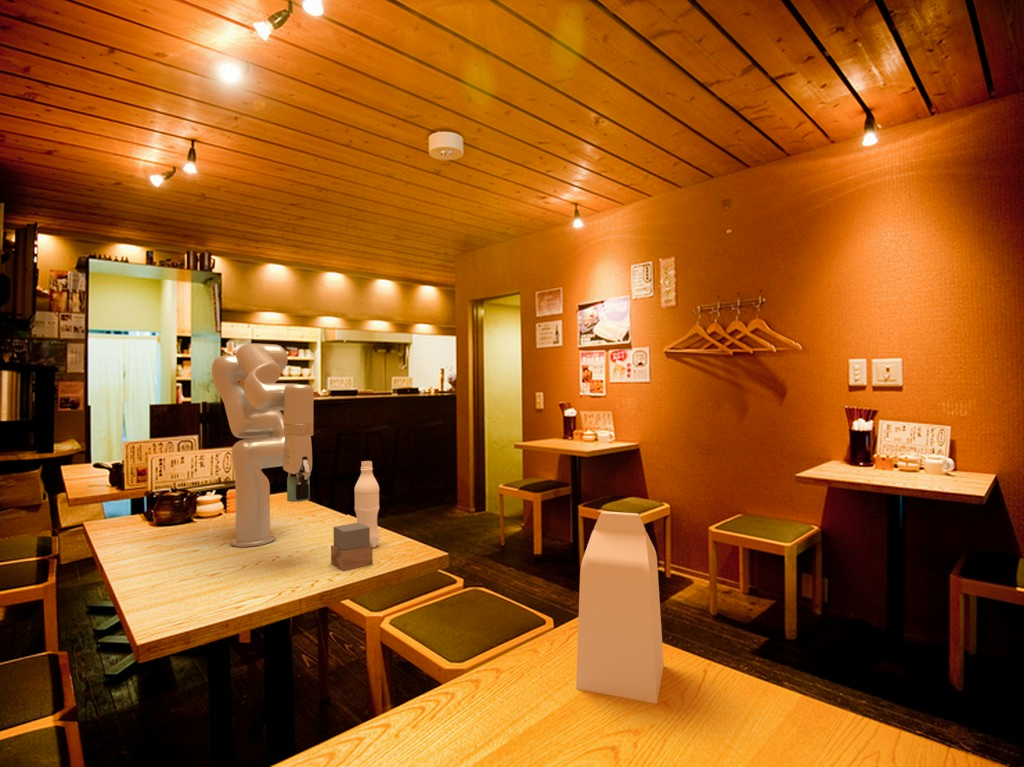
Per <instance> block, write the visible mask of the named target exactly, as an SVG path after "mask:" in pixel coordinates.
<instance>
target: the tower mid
mask: <svg viewBox="0 0 1024 767" xmlns="http://www.w3.org/2000/svg"><path fill="white" fill-rule="evenodd" d="M333 545H334V546H335V547H337V548H339V549H340V550H342V551H349V550H354V549H359V548H364V547H369V546H370V528H369V527H367V526H365V525H363V524H361V523H357V522H353V523H348V524H343V525H341V524H340V525H336V526H333Z"/></svg>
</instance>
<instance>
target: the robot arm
mask: <svg viewBox="0 0 1024 767" xmlns="http://www.w3.org/2000/svg"><path fill="white" fill-rule="evenodd" d="M288 358H289V357H288V354H287V352H286V350H285V348H284V347H282V345H279V344H271V343H269V344H268V343H254V342H253V343H246V344H242V345H241V346H240V347H239V348H238V349H237V351H236V353H235V354H226V355H225V354H224V355H220V356H218V357H217V358H215V359H214V360H213V362H212V365H211V377H212V381H213V385H214V387H215V389H216V391H217V392H218V394H219V396H220V398H221V399H222V401H223V404H224V409H225V414H226V416H227V417H226V418H227V420H228V425H229V429H230V431H231V434H232V435H233V436H234V437H235V438H238V439H241V440H238V441H237V442H235V444H233V445H232V449H231V458H232V463H233V464H232V465H233V471H234V481H235V484H234V485H235V536H234V537H232V538H231V539H230V540H229V545H230V546H232V547H238V548H242V547H243V548H245V547H247V548H248V547H256V546H257V547H258V546H262V545H267V544H269V543H272V542H274V541H275V540H276V538H277V537H276V534H275V533H272V532H271V498H270V496H271V491H270V490H271V486H270V481H269V479H268V477H267V476H266V475H265V474H264V472H263V471H262V469H268V468H277V467H282V469H283V470H284V472H287V474H288V476H287V478H288V477H291V476H297V484H298V485H296V500H302V499H308V498H309V499H310V479H309V478H311V477H310V476H311V474H312V473H311V472H312V470H313V469H312V468H313V446H312V437H311V436H314V388H313V386H312V385H309V384H300V383H284V382H283V383H281V382H280V383H279V382H278V383H277V381H278V380H279V379H280V377H281V373H282V372H283V371H284V370H285V369H286V367H287V365H288ZM240 382H245V383H244V385H242V384H241V383H240ZM282 411H283V412H282ZM300 476H301V479H300Z"/></svg>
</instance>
